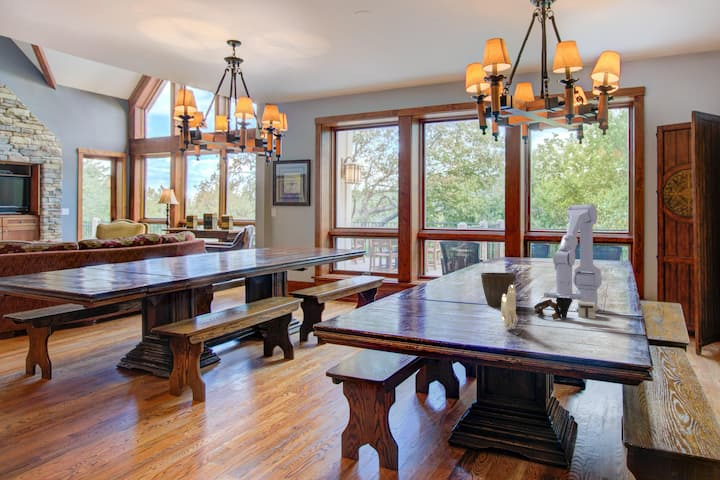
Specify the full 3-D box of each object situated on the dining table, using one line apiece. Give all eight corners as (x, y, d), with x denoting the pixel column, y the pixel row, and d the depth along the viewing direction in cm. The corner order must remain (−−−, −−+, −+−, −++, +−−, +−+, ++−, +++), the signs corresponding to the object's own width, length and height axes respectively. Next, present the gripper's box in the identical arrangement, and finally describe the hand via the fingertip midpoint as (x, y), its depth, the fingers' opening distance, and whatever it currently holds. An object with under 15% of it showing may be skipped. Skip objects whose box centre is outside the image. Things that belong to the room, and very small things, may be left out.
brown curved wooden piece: (549, 321, 183) (539, 301, 187) (536, 328, 192) (527, 309, 195) (574, 313, 187) (564, 293, 190) (561, 320, 195) (551, 301, 198)
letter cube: (578, 316, 196) (578, 301, 196) (595, 317, 193) (595, 302, 193) (578, 318, 190) (578, 303, 190) (595, 319, 188) (595, 304, 188)
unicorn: (497, 322, 182) (497, 276, 182) (508, 322, 181) (508, 276, 181) (508, 332, 162) (508, 280, 162) (520, 332, 162) (520, 281, 162)
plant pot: (520, 312, 206) (520, 274, 206) (485, 312, 206) (485, 274, 206) (510, 308, 221) (510, 272, 221) (477, 307, 221) (477, 272, 221)
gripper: (541, 282, 187) (541, 317, 187) (582, 283, 179) (582, 320, 179) (546, 280, 193) (546, 315, 193) (586, 282, 185) (586, 318, 185)
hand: (564, 317), depth 186 cm, fingers closed
